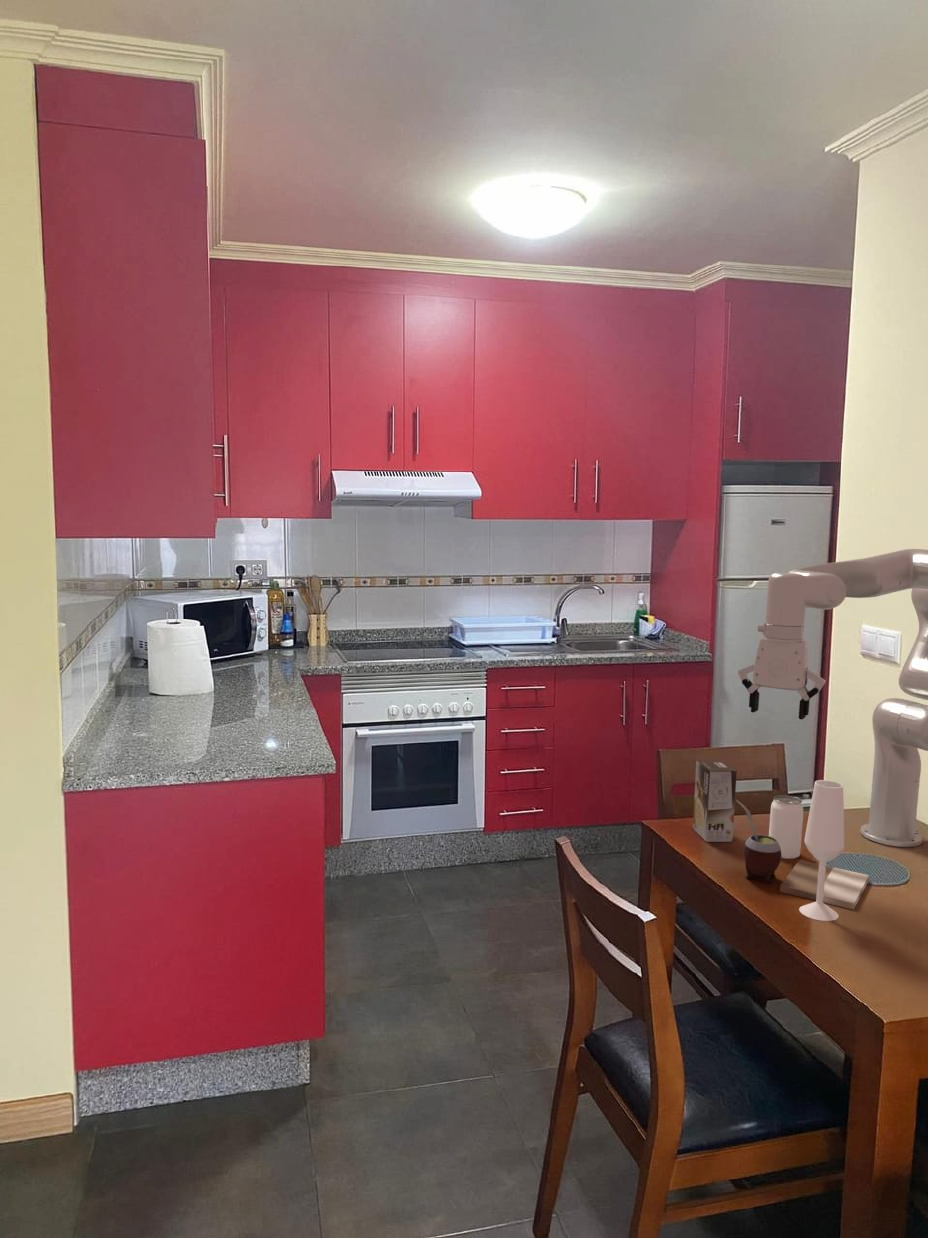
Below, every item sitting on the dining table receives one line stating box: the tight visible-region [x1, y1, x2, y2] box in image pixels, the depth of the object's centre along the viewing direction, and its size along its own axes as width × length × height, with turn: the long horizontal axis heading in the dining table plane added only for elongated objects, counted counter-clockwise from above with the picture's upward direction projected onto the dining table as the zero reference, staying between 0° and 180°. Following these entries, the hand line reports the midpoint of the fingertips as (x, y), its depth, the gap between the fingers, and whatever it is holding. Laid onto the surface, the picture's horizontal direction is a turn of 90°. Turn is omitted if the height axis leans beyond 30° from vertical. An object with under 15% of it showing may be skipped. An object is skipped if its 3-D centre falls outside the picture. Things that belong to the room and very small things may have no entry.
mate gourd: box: [735, 799, 782, 886], centre depth 178 cm, size 8×8×15 cm
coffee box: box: [692, 759, 738, 843], centre depth 201 cm, size 9×6×16 cm
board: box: [779, 859, 870, 910], centre depth 175 cm, size 16×13×1 cm
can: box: [768, 794, 804, 860], centre depth 191 cm, size 6×6×12 cm
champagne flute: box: [798, 779, 845, 922], centre depth 162 cm, size 7×7×24 cm
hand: (777, 714), depth 187 cm, fingers open, 9 cm apart
